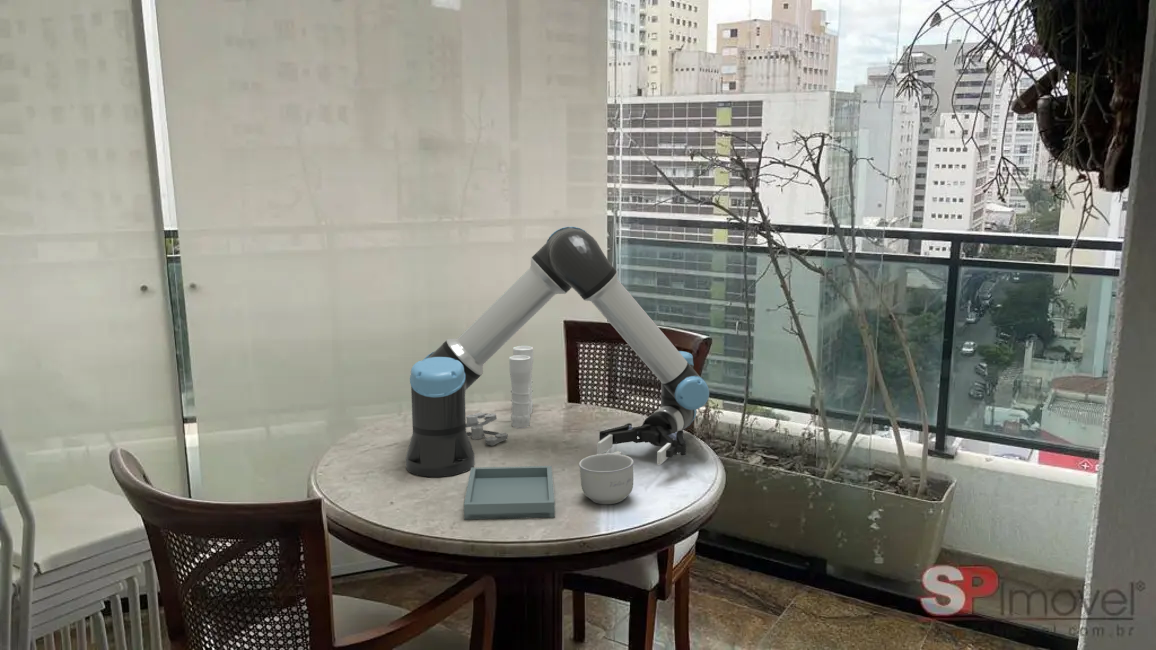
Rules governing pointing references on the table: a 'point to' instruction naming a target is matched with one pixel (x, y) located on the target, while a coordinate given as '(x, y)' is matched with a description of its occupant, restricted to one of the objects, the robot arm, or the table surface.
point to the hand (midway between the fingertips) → (628, 453)
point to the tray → (510, 493)
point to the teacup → (607, 477)
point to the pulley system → (478, 430)
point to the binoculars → (521, 385)
